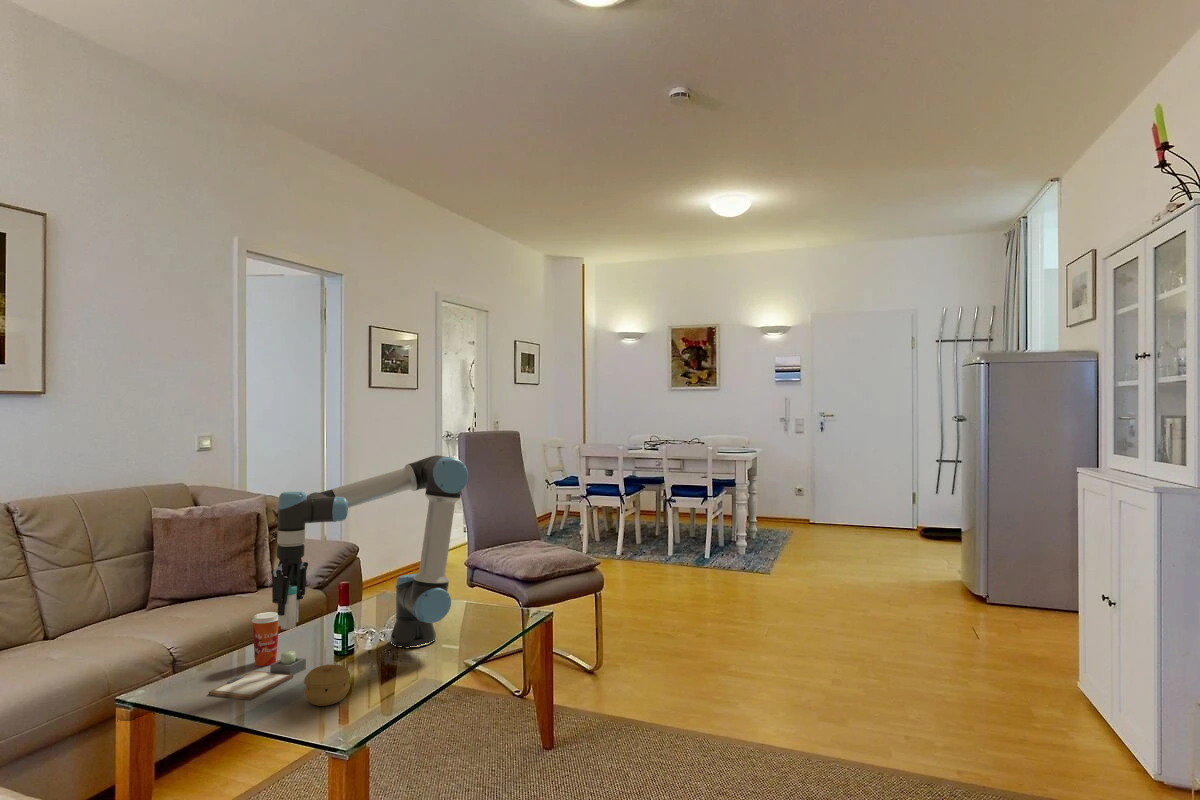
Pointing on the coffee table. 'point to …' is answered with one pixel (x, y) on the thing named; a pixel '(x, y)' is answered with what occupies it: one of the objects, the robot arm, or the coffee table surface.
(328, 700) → the pot
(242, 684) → the drawing board
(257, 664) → the coffee cup
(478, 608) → the coffee table surface
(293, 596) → the marker
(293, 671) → the button housing
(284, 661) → the button
